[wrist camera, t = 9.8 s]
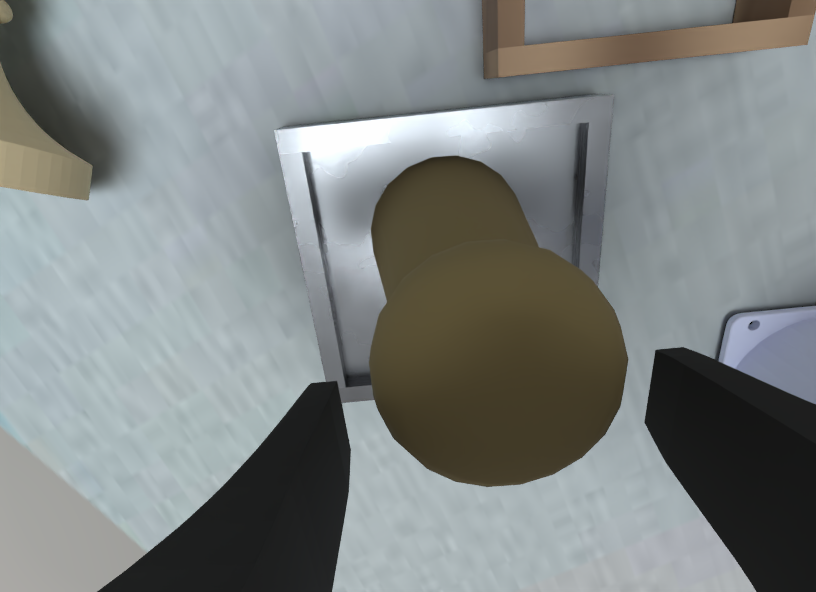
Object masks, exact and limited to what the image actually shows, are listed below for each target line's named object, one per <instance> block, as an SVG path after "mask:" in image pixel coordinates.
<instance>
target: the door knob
mask: <svg viewBox="0 0 816 592" xmlns="http://www.w3.org/2000/svg"><path fill="white" fill-rule="evenodd" d="M12 18H13V13H12V10H11V8H10V6H9V5H8V4H7V3H6V2H5V1H4V0H0V24H3V23H8V22H10V21H11V20H12ZM92 168H93V166H92V165H91V164H89V163H88V162H86V161H84V160H83V159H81V158H79V157H78V156H76V155H74V154H73V153H71V152H69V151H68V150H66V149H65V148H64V147H62V146H61V145H60V144H58V143H57V142H56V141H55V140H53V139H52V138H51V137H50V136H49V135H48V134H46V133H45V132H44V131H43V130H42V129H41V128H40V127H39V126H38V125H37V124H36V122H35V121H34V120H33V119H32V118H31V117H30V115H29V114H28V113H27V112H26V110H25V109H24V108H23V106H22V105H21V103H20V102H19V101H18V99H17V97H16V96H15V94H14V92H13V91H12V89H11V87H10V85H9V83H8V81H7V79H6V76H5V74H4V71H3V68H2V66H1V62H0V187H6V188H12V189H18V190H24V191H30V192H36V193H42V194H48V195H54V196H60V197H67V198H74V199H81V200H89V193H90V185H91V177H92Z"/></svg>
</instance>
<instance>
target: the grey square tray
mask: <svg viewBox="0 0 816 592" xmlns="http://www.w3.org/2000/svg"><path fill="white" fill-rule="evenodd" d="M613 103H614V95H610V94H591V95H582V96H572V97H563V98H553V99H544V100H534V101H525V102H515V103H506V104H496V105H487V106H477V107H468V108H458V109H449V110H439V111H430V112H420V113H411V114H401V115H392V116H382V117H373V118H363V119H354V120H344V121H335V122H325V123H316V124H306V125H297V126H287V127H282V128H279V129H277V130H274V133H275V138H276V142H277V147H278V152H279V157H280V162H281V166H282V171H283V176H284V181H285V186H286V191H287V195H288V200H289V205H290V210H291V215H292V220H293V224H294V229H295V234H296V239H297V244H298V249H299V253H300V258H301V263H302V268H303V273H304V277H305V282H306V287H307V292H308V297H309V302H310V306H311V311H312V316H313V321H314V326H315V331H316V335H317V340H318V345H319V350H320V355H321V359H322V364H323V369H324V374H325V379H326V382H330V381H337V382H338V387H339V393H340V398H341V403H346V402H357V401H367V400H375V399H374V396H373V391H372V383H371V375H370V367H369V357H370V349H371V344H372V340H373V336H374V332H375V328H376V324H377V320H378V316H379V313H380V312H381V310H382V309H383V307H384V306H385V304H386V303H387V300H386V296H385V293H384V289H383V285H382V282H381V278H380V274H379V271H378V267H377V263H376V260H375V256H374V252H373V245H372V236H371V225H372V220H373V215H374V211H375V206H376V204H377V202H378V201H379V199H380V197H381V196H382V194H383V192H384V191H385V189H386V187H387V185H388V184H389V183H390V182H391V181H392V180H394V179H395V178H396V177H397V176H398V175H399V174H400V173H402V172H403V171H404V170H405V169H406V168H407V167H410V166H412V165H414V164H417V163H419V162H421V161H424V160H426V159H429V158H431V157H443V156H455V155H457V156H461V157H465V158H469V159H473V160H477V161H481V162H482V163H484V164H485V165H487V166H488V167H490V168H491V169H493V170H494V171H496V172H497V173H499V174H500V175H502V177H503V178H504V179H505V181H506V182H507V184H508V185H509V186H510V188H511V189H512V190H513V192H514V193H515V194H516V197H517V199H518V201H519V203H520V205H521V208H522V210H523V212H524V214H525V217H526V219H527V221H528V223H529V226H530V228H531V230H532V232H533V234H534V237H535V239H536V241H537V243H538V246H539V247H540V248H544V249H549V250H551V251H553V252H554V253H556V254H557V255H559V256H560V257H562V258H563V259H565V260H567V261H568V262H570V263H571V264H573V265H574V266H576V267H578V268H579V269H581V270H582V271H583V272H584V273H585V274H586V275H587V276H588V277H590V278H591V279H592V280H593V281H594V283H595V284H596V285H597V287H598V278H599V266H600V255H601V243H602V231H603V220H604V208H605V196H606V185H607V173H608V162H609V150H610V138H611V127H612V115H613Z"/></svg>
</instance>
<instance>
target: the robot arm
mask: <svg viewBox="0 0 816 592" xmlns="http://www.w3.org/2000/svg"><path fill="white" fill-rule="evenodd" d="M752 321H753V323H752V324H751V325H750V326H748V325H749V323H751V322H752ZM645 424H646V426H647V428H648V430H649V432H650V434H651V436H652V438H653V440H654V442H655V444H656V445H657V447H658V449H659V451H660V453H661V454H662V456H663V458H664V460H665V461H666V463H667V465H668V466H669V467H670V469H671V470H672V472H673V473H674V475H675V476H676V477H677V479H678V480H679V482H680V483H681V485H682V486H683V487H684V489H685V490H686V492H687V493H688V494H689V496H690V497H691V499H692V500H693V501H694V503H695V504H696V505H697V507H698V508H699V510H700V511H701V512H702V514H703V515H704V516H705V518H706V519H707V521H708V522H709V523H710V525H711V526H712V528H713V529H714V530H715V532H716V533H717V534H718V536H719V537H720V539H721V540H722V541H723V543H724V544H725V546H726V547H727V548H728V550H729V551H730V552H731V554H732V555H733V557H734V558H735V559H736V561H737V562H738V564H739V565H740V567H741V568H742V570H743V571H744V573H745V574H746V576H747V577H748V579H749V580H750V582H751V583H752V585H753V587H754V588H755V590H756V592H816V306H808V307H798V308H788V309H777V310H767V311H757V312H747V313H739V314H735V315H734V316H732V317H731V318H730V319H729V320H728V322H727V324H726V329H725V333H724V338H723V342H722V347H721V351H720V356H719V360H718V361H716V360H714V359H712V358H710V357H707V356H705V355H702V354H700V353H697V352H695V351H692V350H689V349H687V348H684V347H680V348H670V349H660V350H656V351H655V358H654V364H653V371H652V377H651V384H650V390H649V397H648V403H647V410H646V416H645ZM350 454H351V449H350V444H349V439H348V434H347V429H346V423H345V418H344V413H343V408H342V403H341V398H340V393H339V387H338V382H337V381H330V382H319V383H311V384H310V385H309V386H308V387H307V388H306V389H305V391H304V392H303V393H302V394H301V396H300V397H299V398H298V399H297V401H296V402H295V403H294V405H293V406H292V407H291V408H290V410H289V411H288V412H287V413H286V415H285V416H284V417H283V418H282V420H281V421H280V422H279V423H278V425H277V426H276V427H275V428H274V429H273V431H272V432H271V433H270V434H269V435H268V437H267V438H266V439H265V440H264V441H263V443H262V444H261V445H260V446H259V447H258V449H257V450H256V451H255V452H254V453H253V454H252V455H251V456H250V458H249V459H248V460H247V461H246V462H245V463H244V464H243V465H242V466H241V467H240V468H239V469H238V471H237V472H236V473H235V474H234V475H233V476H232V477H231V478H230V479H229V480H228V481H227V482H226V483H225V484H224V485H223V486H222V487H221V488H220V489H219V490H218V491H217V492H216V493H215V494H214V495H213V496H212V497H211V498H210V499H209V500H208V501H207V502H206V503H205V504H204V505H203V506H202V507H200V508H199V509H198V510H197V511H196V512H195V513H194V514H193V515H192V516H191V517H190V518H189V519H187V520H186V521H185V522H184V523H183V524H182V525H181V526H179V527H178V528H177V529H176V530H175V531H174V532H172V533H171V534H170V535H169V536H167V537H166V538H165V539H164V540H163V541H161V542H160V543H159V544H158V545H156V546H155V547H154V548H153V549H152V550H150V551H149V552H148V553H147V554H145V555H144V556H143V557H142V558H141V559H139V560H138V561H137V562H136V563H135V564H133V565H132V566H131V567H130V568H128V569H127V570H126V571H124V572H123V573H122V574H121V575H119V576H118V577H116V578H115V579H114V580H112V581H111V582H110V583H108V584H107V585H106V586H104V587H103V588H102V589H100V590H99V591H98V592H332V588H333V582H334V576H335V570H336V564H337V558H338V553H339V547H340V541H341V535H342V529H343V523H344V517H345V511H346V505H347V499H348V493H349V476H350Z"/></svg>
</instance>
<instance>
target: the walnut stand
mask: <svg viewBox="0 0 816 592" xmlns="http://www.w3.org/2000/svg"><path fill="white" fill-rule="evenodd" d="M815 11H816V0H737V1H736V7H735V13H734V19H733V23H731V24H722V25H713V26H703V27H694V28H685V29H675V30H666V31H657V32H647V33H638V34H629V35H619V36H610V37H600V38H591V39H582V40H572V41H563V42H554V43H544V44H535V45H526V46H524V27H525V0H482V18H483V60H484V79H489V78H498V77H507V76H517V75H526V74H536V73H545V72H555V71H564V70H573V69H583V68H592V67H602V66H611V65H621V64H630V63H639V62H649V61H658V60H668V59H677V58H687V57H696V56H706V55H715V54H724V53H734V52H743V51H753V50H762V49H771V48H781V47H790V46H799V45H807V44H808V40H809V36H810V32H811V28H812V23H813V19H814V15H815Z"/></svg>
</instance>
